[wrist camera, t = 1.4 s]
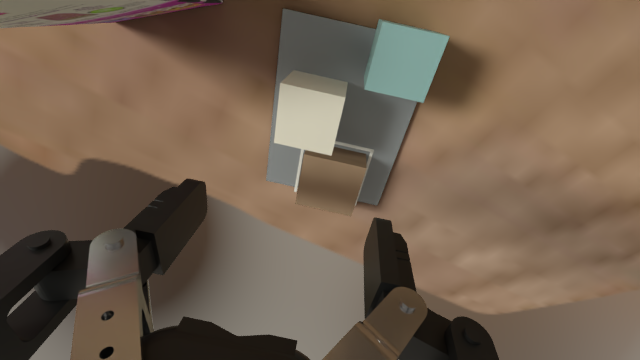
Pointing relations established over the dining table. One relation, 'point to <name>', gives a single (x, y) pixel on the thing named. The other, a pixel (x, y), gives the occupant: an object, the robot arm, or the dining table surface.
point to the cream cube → (309, 111)
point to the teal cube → (403, 60)
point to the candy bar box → (87, 11)
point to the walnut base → (331, 180)
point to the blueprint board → (359, 107)
